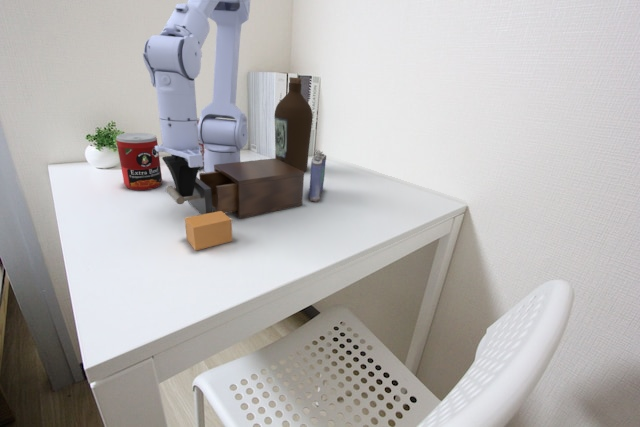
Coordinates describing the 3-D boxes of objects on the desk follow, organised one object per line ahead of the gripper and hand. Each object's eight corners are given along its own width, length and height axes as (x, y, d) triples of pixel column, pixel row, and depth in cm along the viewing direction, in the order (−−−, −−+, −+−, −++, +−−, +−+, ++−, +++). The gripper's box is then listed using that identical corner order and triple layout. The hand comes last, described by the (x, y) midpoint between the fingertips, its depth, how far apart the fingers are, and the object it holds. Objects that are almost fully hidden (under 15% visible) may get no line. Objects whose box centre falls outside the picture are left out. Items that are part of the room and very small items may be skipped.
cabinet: (239, 219, 59) (238, 180, 56) (215, 198, 67) (213, 164, 64) (302, 205, 68) (304, 171, 65) (274, 189, 76) (275, 158, 73)
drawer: (182, 225, 53) (178, 193, 51) (165, 204, 60) (161, 175, 58) (272, 206, 64) (272, 179, 61) (248, 190, 71) (248, 165, 69)
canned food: (129, 192, 66) (120, 140, 62) (120, 182, 72) (111, 133, 67) (167, 187, 71) (161, 138, 67) (156, 177, 76) (150, 131, 72)
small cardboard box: (186, 240, 51) (184, 217, 49) (222, 231, 54) (221, 210, 53) (195, 251, 48) (193, 227, 46) (232, 241, 51) (231, 219, 50)
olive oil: (298, 162, 100) (302, 78, 90) (315, 172, 92) (322, 80, 82) (267, 165, 95) (268, 75, 84) (283, 175, 87) (286, 77, 76)
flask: (318, 202, 70) (322, 155, 66) (305, 200, 71) (308, 153, 66) (324, 189, 79) (327, 147, 74) (312, 188, 79) (315, 145, 75)
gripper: (141, 112, 54) (151, 186, 60) (164, 126, 44) (174, 214, 49) (183, 112, 58) (189, 182, 64) (213, 125, 48) (217, 206, 54)
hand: (185, 195), depth 57 cm, fingers closed, pressing on drawer
